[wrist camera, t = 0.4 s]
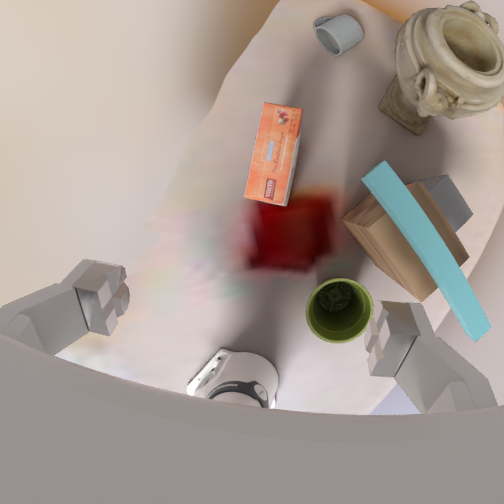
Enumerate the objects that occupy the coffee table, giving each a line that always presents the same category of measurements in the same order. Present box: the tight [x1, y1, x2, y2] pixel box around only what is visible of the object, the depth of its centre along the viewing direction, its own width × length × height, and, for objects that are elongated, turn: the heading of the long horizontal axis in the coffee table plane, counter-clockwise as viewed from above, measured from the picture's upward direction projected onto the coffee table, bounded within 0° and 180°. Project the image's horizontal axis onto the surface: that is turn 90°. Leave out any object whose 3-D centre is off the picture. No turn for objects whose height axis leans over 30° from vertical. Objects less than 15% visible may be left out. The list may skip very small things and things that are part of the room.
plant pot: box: [306, 278, 373, 343], centre depth 58 cm, size 12×12×11 cm
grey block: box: [413, 175, 473, 233], centre depth 51 cm, size 7×8×16 cm
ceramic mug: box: [313, 14, 364, 56], centre depth 52 cm, size 11×8×8 cm
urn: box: [379, 1, 504, 136], centre depth 41 cm, size 24×18×30 cm
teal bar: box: [361, 160, 491, 342], centre depth 34 cm, size 3×26×3 cm, turn 41°
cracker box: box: [244, 102, 303, 206], centre depth 52 cm, size 14×6×21 cm, turn 169°
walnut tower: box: [340, 182, 469, 302], centre depth 48 cm, size 9×12×26 cm
